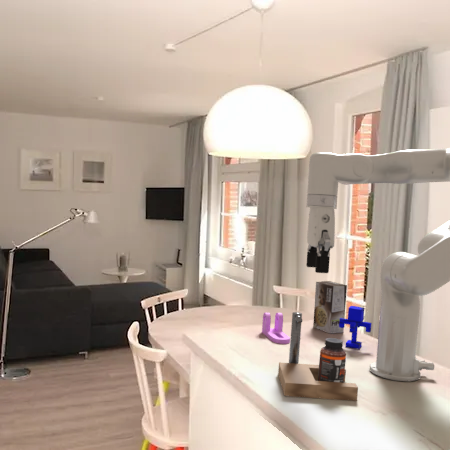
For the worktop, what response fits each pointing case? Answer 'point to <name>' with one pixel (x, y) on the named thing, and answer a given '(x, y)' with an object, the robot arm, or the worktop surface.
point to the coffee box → (329, 306)
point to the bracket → (274, 329)
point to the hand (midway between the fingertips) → (317, 269)
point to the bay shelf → (312, 383)
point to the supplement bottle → (332, 361)
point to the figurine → (355, 325)
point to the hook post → (295, 337)
